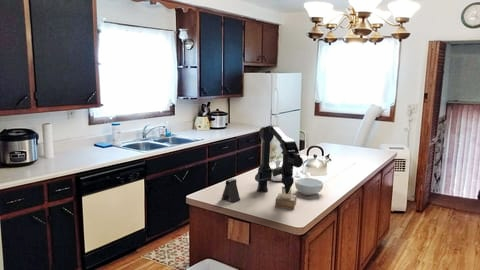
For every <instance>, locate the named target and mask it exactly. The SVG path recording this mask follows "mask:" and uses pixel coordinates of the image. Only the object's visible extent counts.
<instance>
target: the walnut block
mask: <svg viewBox="0 0 480 270" xmlns="http://www.w3.org/2000/svg"><path fill="white" fill-rule="evenodd" d="M296 205H297V194H291V199H290V198H282V192H280V193H278V194H277V196H276V198H275V206H274V207H275V208H280V209H287V210H288V209H290V210H295V207H296Z"/></svg>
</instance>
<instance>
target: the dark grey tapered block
mask: <svg viewBox="0 0 480 270" xmlns="http://www.w3.org/2000/svg"><path fill="white" fill-rule="evenodd" d="M222 199H223V201H225V200H226V201H225V202H228V201H229V202H228V203H231V202H233V203H234V204H235V203H236V202H239V200H240V201H241V197H240V194H239V189H238V185H237V178H229V179H226V181H225V186H224V189H223V194H222V195H221V200H222ZM233 203H232V204H233Z"/></svg>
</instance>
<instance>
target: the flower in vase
mask: <svg viewBox="0 0 480 270" xmlns="http://www.w3.org/2000/svg"><path fill="white" fill-rule="evenodd" d="M277 149H278V145H277V144H275V143H274V144H272V145H270V154H273V153H274V154H276V153H275V152H276V151H277ZM281 157H282V154H279V155H277V156H276V155H273V156H270V159H271V160H274V161H273V162H274V164H275V168H278V167H281V165H280V164H281V163H282V162H283V159H280V158H281ZM270 159H269V160H270ZM271 181H274V182H282V175H281V174H280V175H277V176H275V177H274V176H273V174H272V177H271Z"/></svg>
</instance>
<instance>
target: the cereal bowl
mask: <svg viewBox="0 0 480 270" xmlns="http://www.w3.org/2000/svg"><path fill="white" fill-rule="evenodd" d="M294 184H295V185H294V186H295V189H296V190H297V191H298V192H300V193H302V194H303V195H305V196H307V195H308V196H314V195H315V194H318V193H320V192H321V191H322V190H323V188H324V182H323V181H322V180H319V179H317V178H310V177H307V178H306V177H302V178H301V177H300V178H298V179H295V180H294Z"/></svg>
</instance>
